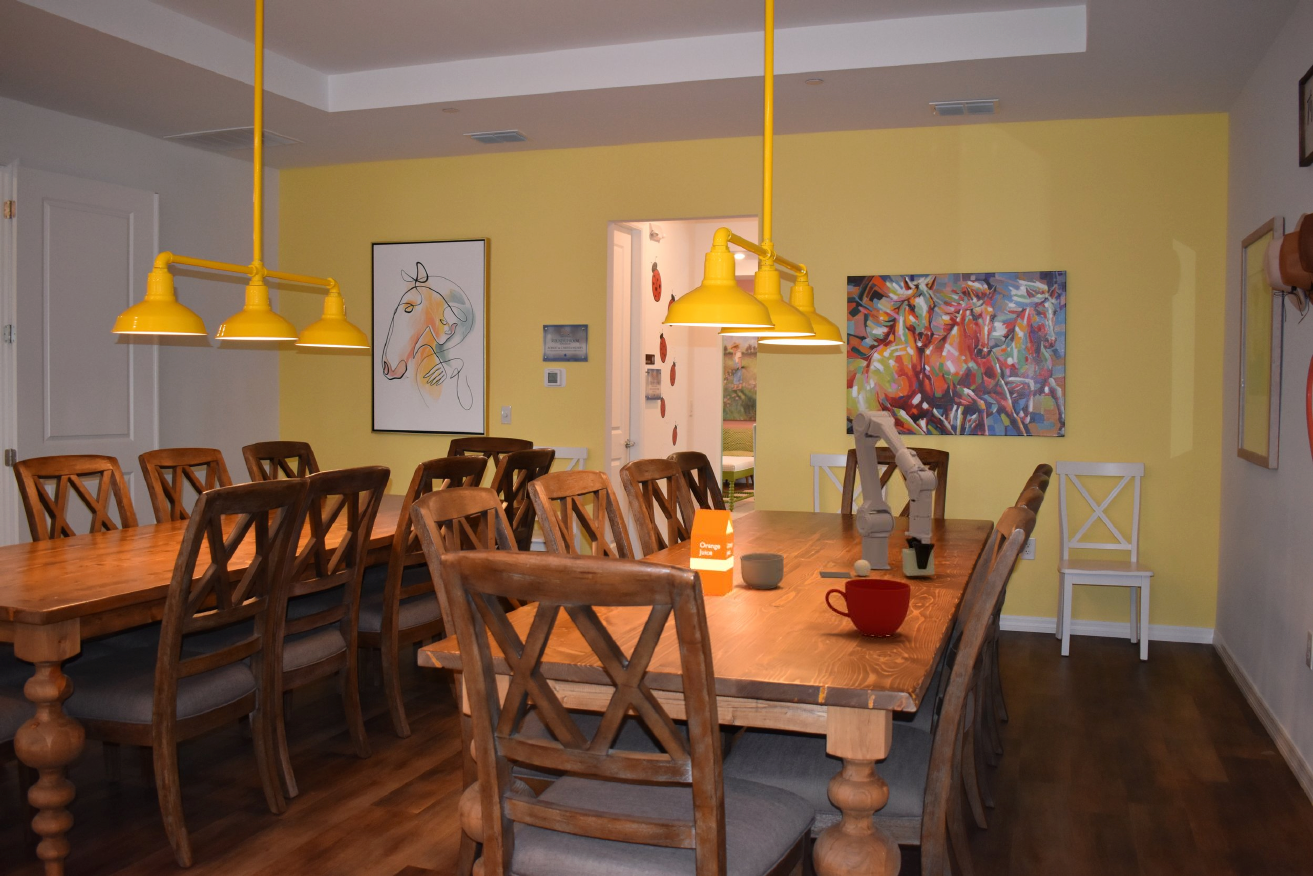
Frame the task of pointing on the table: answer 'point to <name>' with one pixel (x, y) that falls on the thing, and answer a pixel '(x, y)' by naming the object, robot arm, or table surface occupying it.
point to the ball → (862, 568)
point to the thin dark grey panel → (835, 574)
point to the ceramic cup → (874, 605)
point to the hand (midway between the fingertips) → (919, 567)
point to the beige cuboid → (911, 563)
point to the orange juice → (713, 550)
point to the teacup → (762, 569)
